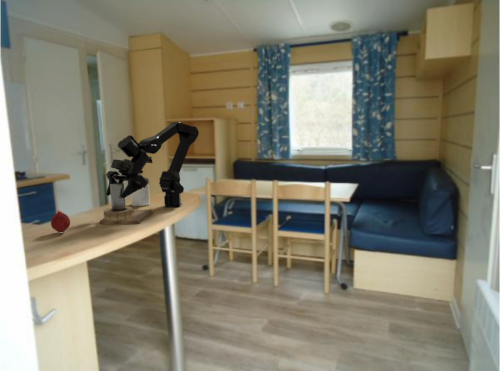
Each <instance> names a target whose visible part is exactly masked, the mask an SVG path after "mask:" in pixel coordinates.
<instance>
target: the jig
mask: <svg viewBox="0 0 500 371" xmlns="http://www.w3.org/2000/svg"><path fill="white" fill-rule="evenodd" d="M151 213H153V211H152V209H148V208H147V209H134V208H133V206H126V210H124V211H118V212H112V207H109V208H106V209H103V218H102V219H100V220H99V224H100V225H125V224H126V225H128V224H130V225H131V224H135V225H137V224H141V222H143V221H145V219H146V218H147V217H148V216H149V215H150V214H151Z"/></svg>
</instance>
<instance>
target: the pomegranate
mask: <svg viewBox="0 0 500 371" xmlns="http://www.w3.org/2000/svg"><path fill="white" fill-rule="evenodd" d="M50 225H51V226H50V227H51V228H52V229H53V230H54V231H56V232H58V233H59V232H63V233H64V232H65V231H66V230H68V229H69V228H70V225H71V219H70V217H69V215H67V214H66V213H64V212H63V211H61V210H60V209H57V213H56V214H54V215H53V216H52V218H51V220H50Z"/></svg>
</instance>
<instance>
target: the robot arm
mask: <svg viewBox="0 0 500 371" xmlns="http://www.w3.org/2000/svg"><path fill="white" fill-rule="evenodd" d="M176 134H177V135H178V140H179V143H178V145H177V148H176V150H175V153H174V156H173V157H172V159H171V160H172V161H171V162H170V166H169V167H168V169H167V170H162V172H161V175H160V177H159V178H158V180H159V187H160V188H161V192H162V193H165V194H164V196H163V197H164V199H163V200H164V202H163V203H164V208H179V207H180V208H181V206H182V205H183V203H182V197H181V194H182V193H184V189H185V188H184V186H183V185H182V184H181V175H180V173H181V170H182V167H183V164H184V162H185V159H186V157H187V154H188V152H189V150H190V146H191V145H193V143H195V142H196V141H197V139H198V137H199V134H200V133H199V129H198V128H197V127H196V126H195V125H192V126H191V125H189V124H186V123H183V122H181V121H173V122H170V124H169V125H168V126H166V127H165V128H163V129H161V131H159V132H158V133H156V134H155V135H153V136H149V137H146V138H144V139H143V138H142V139H141V140H140V141H139V142H137V139H135V138H134V137H133V136H132V135H130V134H129V135H127V136H126V137H124V138H122V140H120V141H119V142H118V143H117V147H118V149H120V151H122V153H124V155H126V156H125V157H127V159H126V158H124V159H123V160H122V159H116V158H115V159H112V162H111V165H110V168H111V169H114V170H108V171H107V172H106V173H105V176H106V178H107V179H108V185H107V189H106V193H105V195H106V196H107V197H109V196H111V192H110V184H113V183H124V182H127V185H126V186H125V187H124V192H123V194H122V196H121V197H122V198H125V199H126V198H127V197H129V196H131V194H132V193H134V192H136V191H137V190H139V189H142V188H145V187H146V185H147V180H146V179H145V178H146V177H144V176H143V175H142V174H143V173H144V171H143V169H144V167H145V166H146V165H147V164H153V159H152V157H153V156H149V155H148V154H150V155H153V154H156V153H159V151H160V150H161V148H162V147H163V144H164V143H165V142H167V141H169V140H170V139H171V138H172V137H173V136H175V135H176ZM128 158H130V159H128ZM117 170H118V171H117Z"/></svg>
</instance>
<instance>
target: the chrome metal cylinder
mask: <svg viewBox="0 0 500 371" xmlns="http://www.w3.org/2000/svg"><path fill="white" fill-rule="evenodd" d="M124 190H125V183H124V182H123V183H113V184H110V192H111V194H110V203H111V208H112V212H118V211H124V210H126V207H127V205H126V197H125V198H122V197H121V196H122V194H123V192H124Z"/></svg>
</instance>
